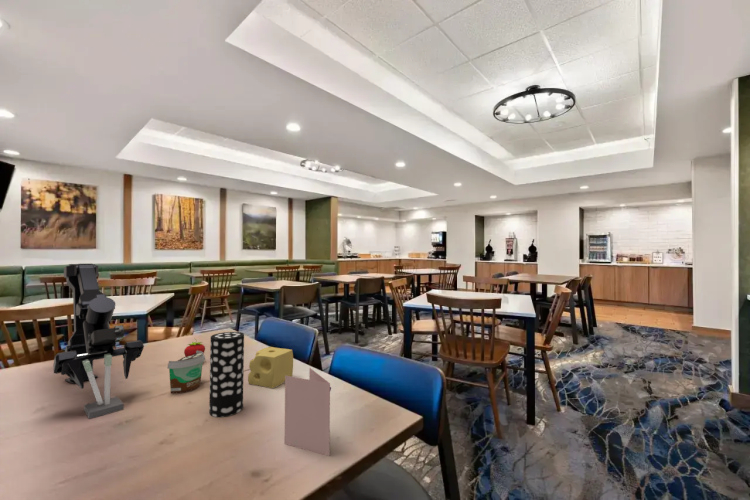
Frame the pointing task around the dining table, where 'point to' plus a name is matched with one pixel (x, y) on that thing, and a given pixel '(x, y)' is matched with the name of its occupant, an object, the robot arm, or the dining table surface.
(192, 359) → the food container
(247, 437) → the dining table surface
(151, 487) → the dining table surface
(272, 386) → the cheese
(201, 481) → the dining table surface
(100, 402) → the swinging tong arm
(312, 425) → the greeting card
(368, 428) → the dining table surface
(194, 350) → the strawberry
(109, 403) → the stand
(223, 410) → the white-spotted black cylinder
